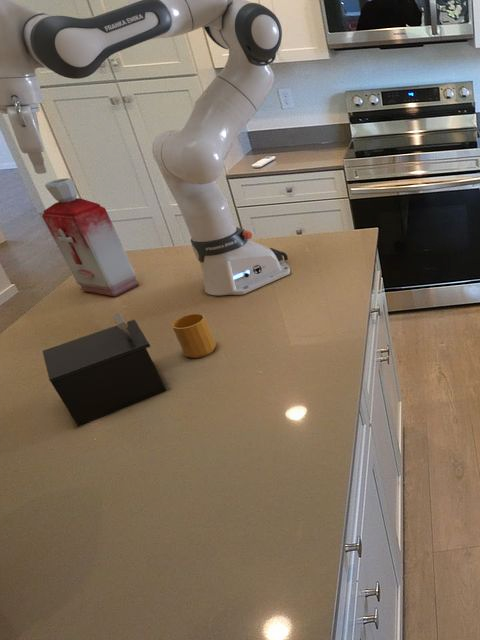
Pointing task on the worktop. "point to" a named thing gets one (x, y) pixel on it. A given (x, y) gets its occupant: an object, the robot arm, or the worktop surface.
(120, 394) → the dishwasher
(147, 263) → the worktop surface
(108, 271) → the bottle
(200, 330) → the golden yellow cup
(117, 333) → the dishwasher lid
